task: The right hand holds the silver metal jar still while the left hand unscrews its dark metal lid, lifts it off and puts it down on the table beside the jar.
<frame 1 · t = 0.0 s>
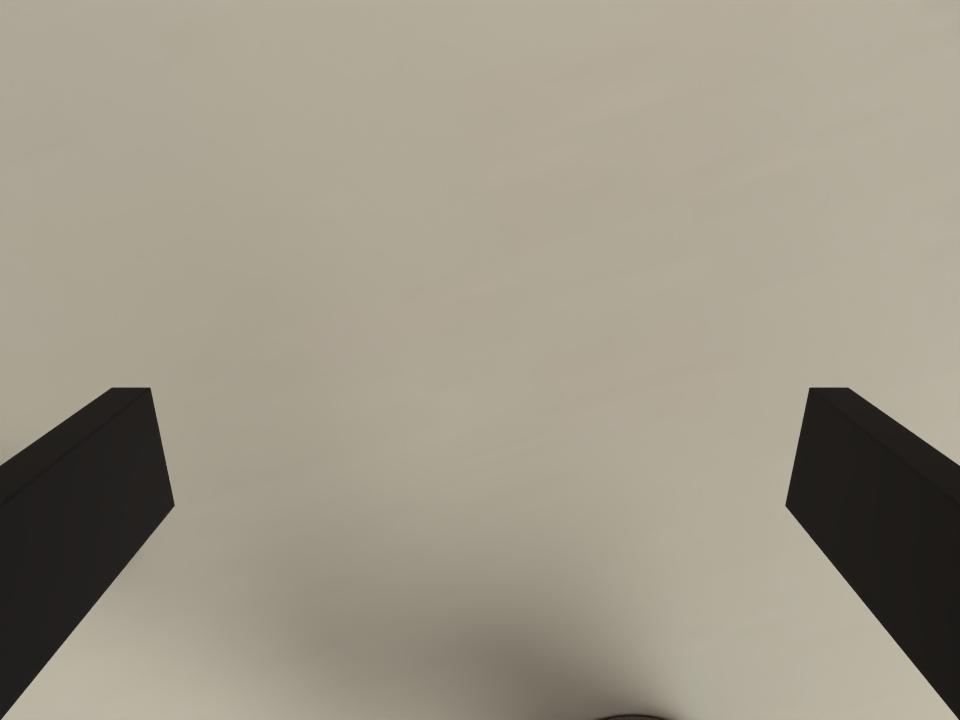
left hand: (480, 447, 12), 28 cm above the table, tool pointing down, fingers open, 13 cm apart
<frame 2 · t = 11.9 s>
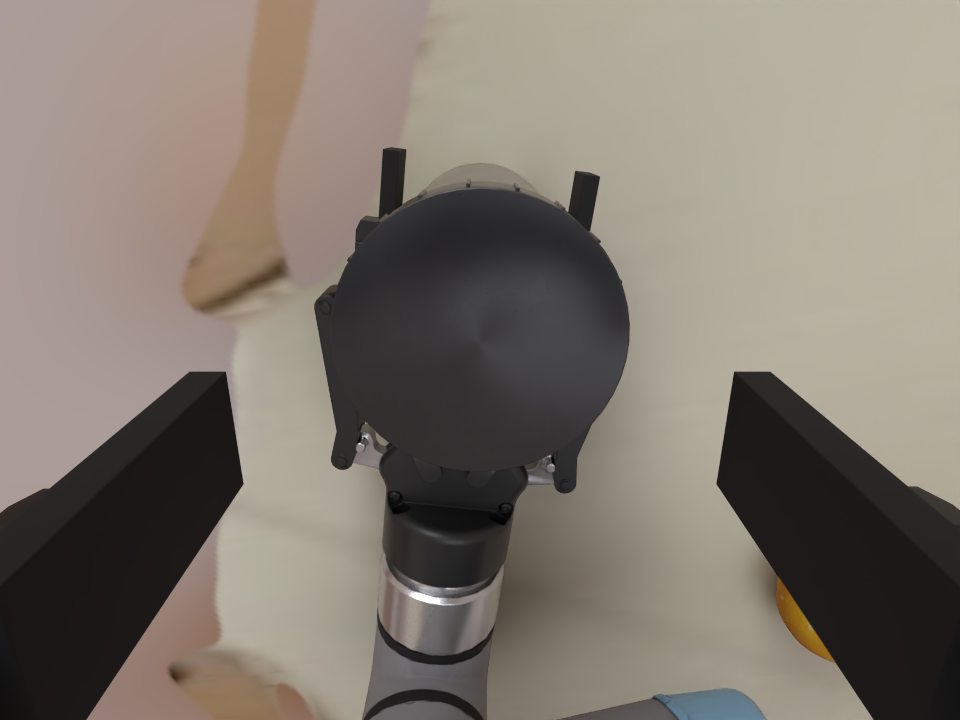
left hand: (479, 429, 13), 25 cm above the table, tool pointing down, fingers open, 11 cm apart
right hand: (491, 161, 29), fingers closed on jar, 8 cm apart
fruit: (818, 564, 45), on the table
lid: (480, 338, 19), point 19 cm above the table, screwed on, not yet turned
jar: (480, 237, 37), on the table, touching right hand
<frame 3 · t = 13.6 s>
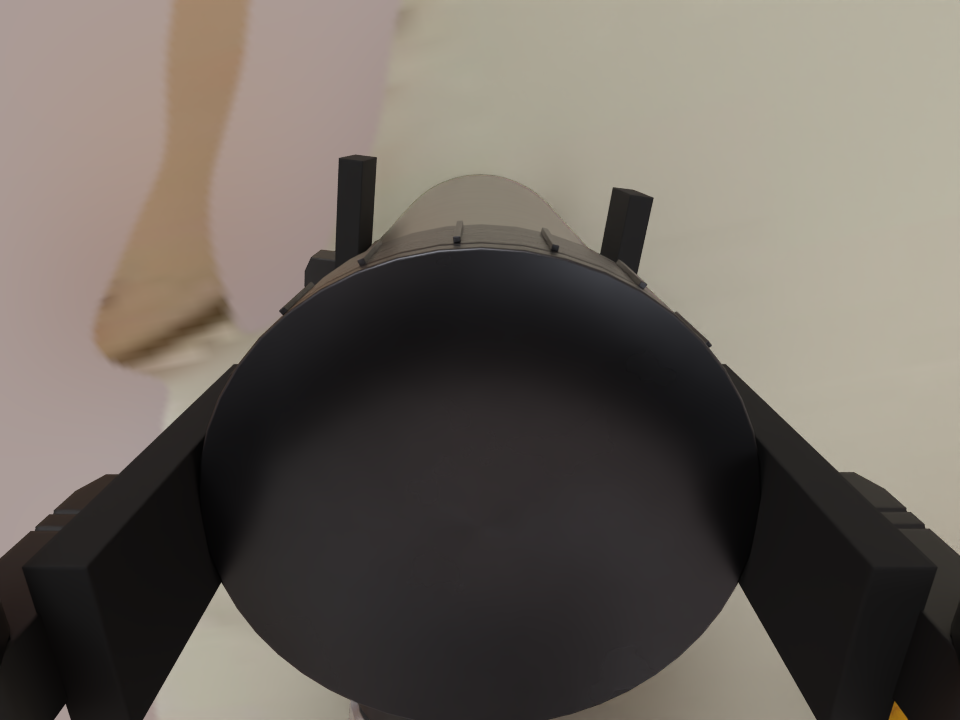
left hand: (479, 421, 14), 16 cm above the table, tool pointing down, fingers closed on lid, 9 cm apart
lid: (480, 513, 10), point 19 cm above the table, screwed on, not yet turned, touching left hand
jar: (480, 270, 28), on the table, touching right hand
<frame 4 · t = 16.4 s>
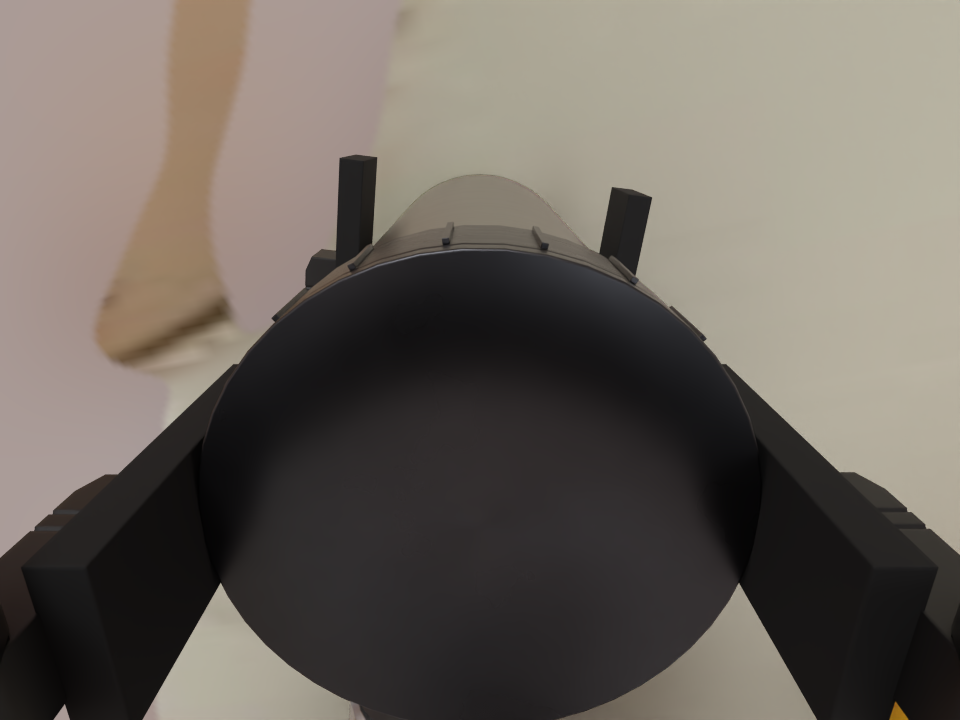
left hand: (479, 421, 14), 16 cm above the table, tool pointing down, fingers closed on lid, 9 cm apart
lid: (479, 514, 10), point 19 cm above the table, turned 56° so far, risen 0.1 cm, still on its thread, touching left hand
jar: (479, 270, 28), on the table, touching right hand
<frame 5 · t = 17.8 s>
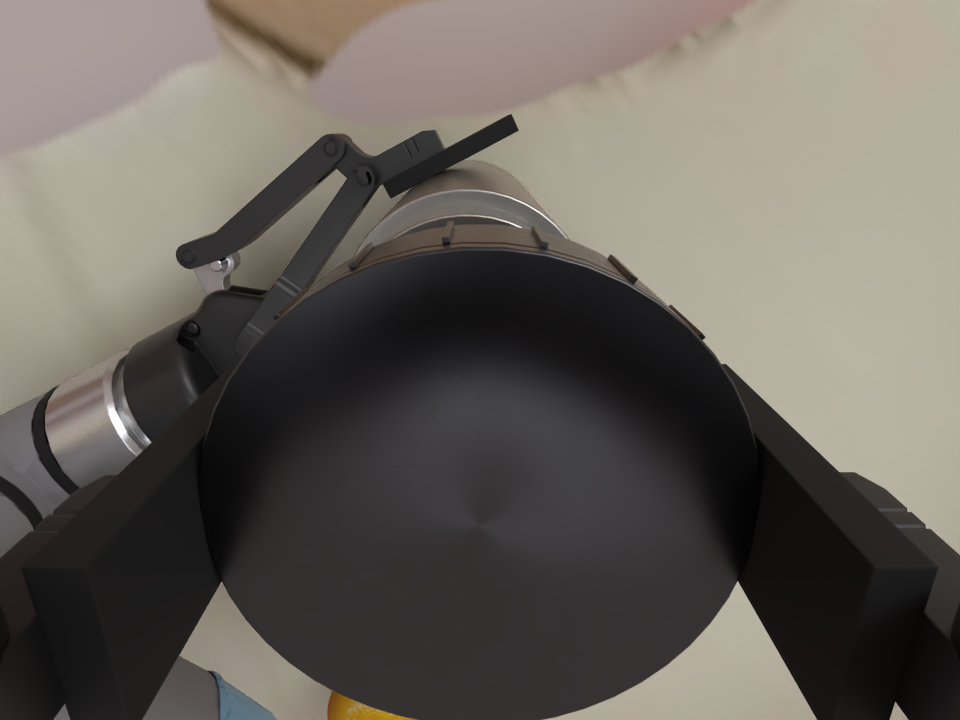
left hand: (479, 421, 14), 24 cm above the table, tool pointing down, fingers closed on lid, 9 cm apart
fruit: (393, 669, 48), on the table
lid: (479, 512, 10), point 28 cm above the table, off its thread, touching left hand
jar: (468, 235, 36), on the table, touching right hand
when the left hand's fingers open (0 cm above the table, at t = 21.9 s): lid drops 2 cm, point 2 cm above the table.
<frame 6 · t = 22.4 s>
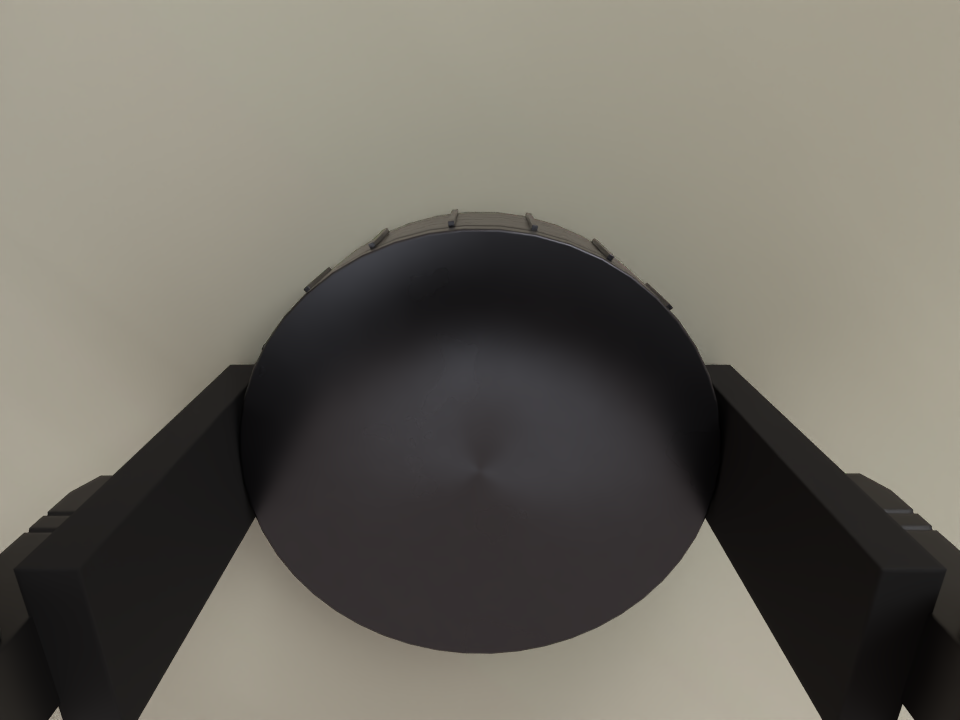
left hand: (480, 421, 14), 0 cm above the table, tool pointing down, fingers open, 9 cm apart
lid: (479, 461, 12), point 2 cm above the table, off its thread
when the right hand's fingers open (6 cm above the table, at t = 23.5 s): jar stays where it is, on the table.
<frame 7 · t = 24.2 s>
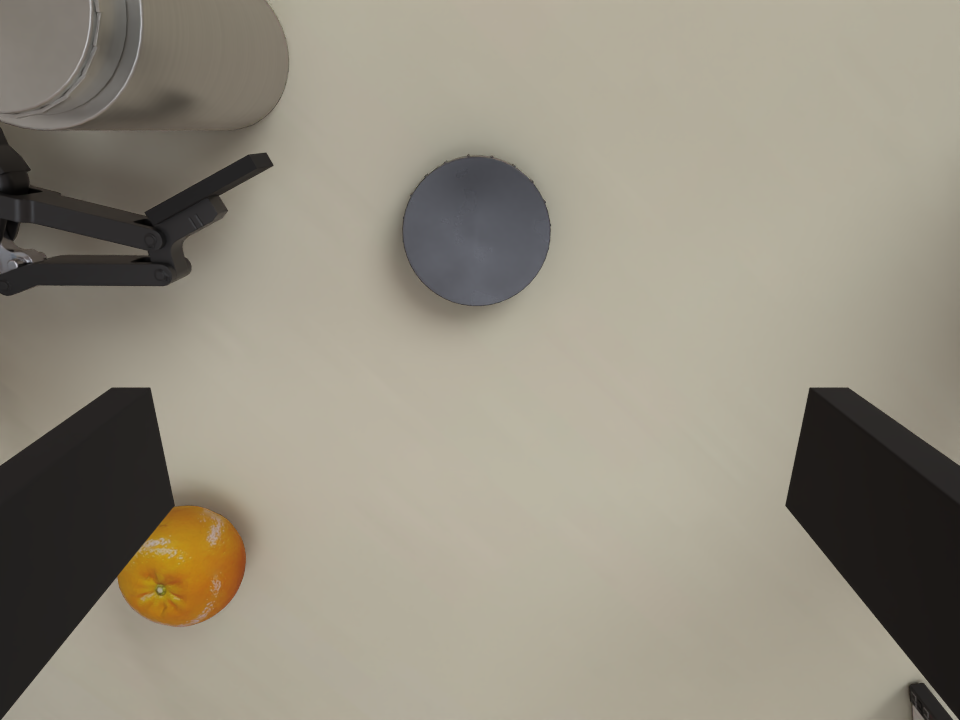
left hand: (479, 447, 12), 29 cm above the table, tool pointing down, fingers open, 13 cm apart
right hand: (186, 29, 30), fingers open, 13 cm apart
fruit: (204, 535, 48), on the table
lid: (476, 233, 38), point 2 cm above the table, off its thread
jar: (217, 53, 36), on the table
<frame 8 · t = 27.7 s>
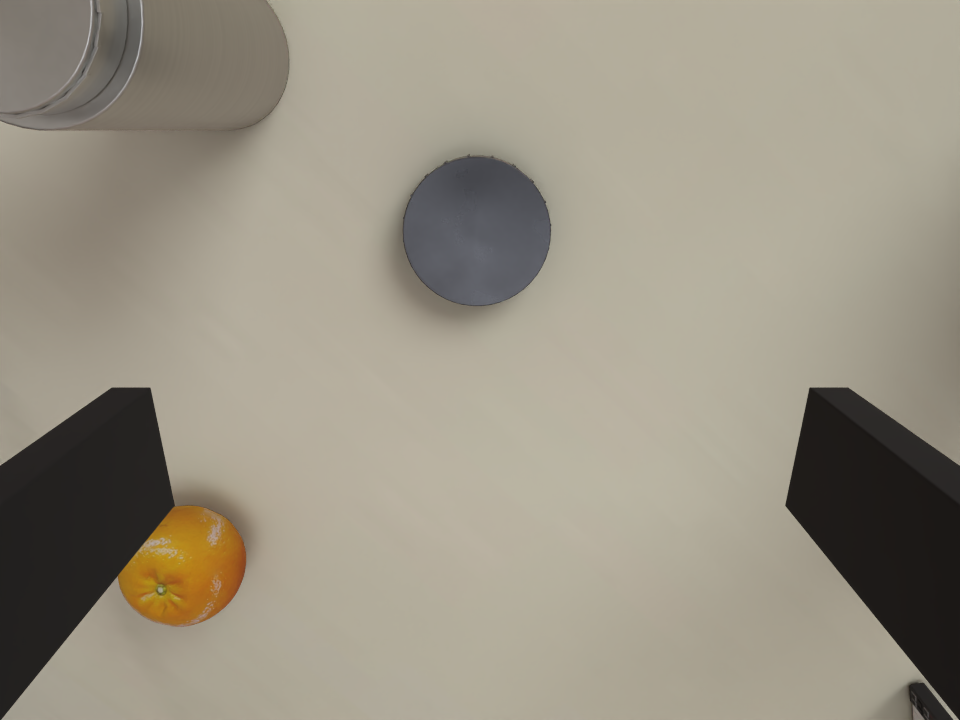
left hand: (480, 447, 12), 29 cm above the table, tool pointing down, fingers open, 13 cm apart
fruit: (204, 535, 48), on the table
lid: (476, 233, 38), point 2 cm above the table, off its thread
jar: (217, 53, 36), on the table
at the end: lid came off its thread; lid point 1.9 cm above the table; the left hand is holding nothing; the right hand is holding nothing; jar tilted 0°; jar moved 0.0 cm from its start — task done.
